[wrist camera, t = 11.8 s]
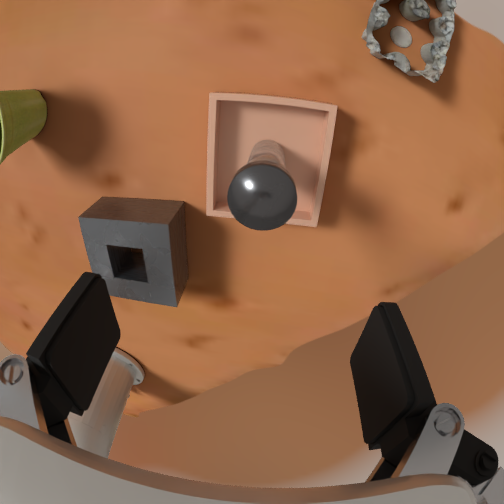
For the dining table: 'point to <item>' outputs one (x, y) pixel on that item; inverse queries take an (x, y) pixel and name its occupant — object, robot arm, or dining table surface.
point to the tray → (269, 128)
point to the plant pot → (20, 118)
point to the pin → (263, 189)
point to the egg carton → (430, 53)
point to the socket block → (138, 236)
